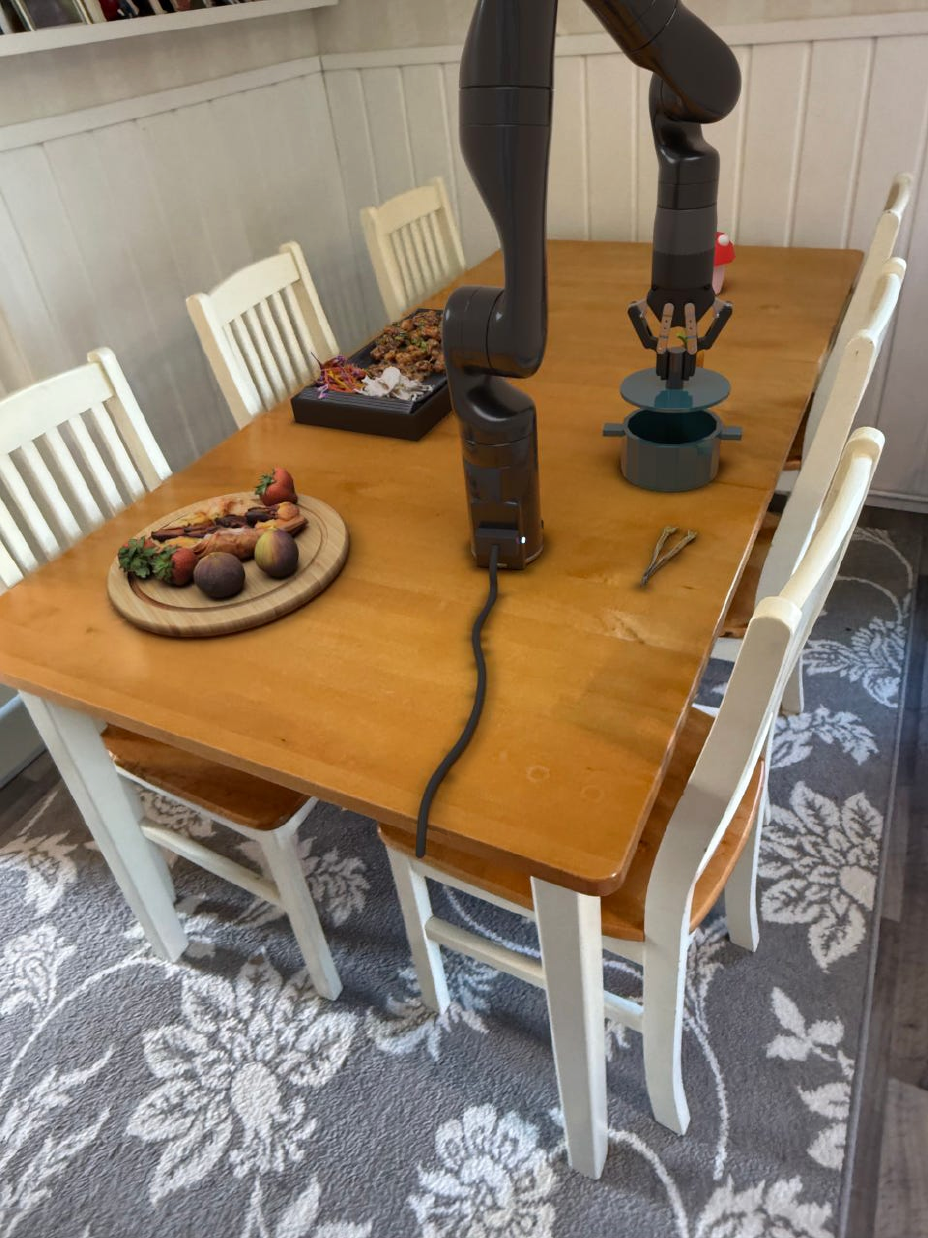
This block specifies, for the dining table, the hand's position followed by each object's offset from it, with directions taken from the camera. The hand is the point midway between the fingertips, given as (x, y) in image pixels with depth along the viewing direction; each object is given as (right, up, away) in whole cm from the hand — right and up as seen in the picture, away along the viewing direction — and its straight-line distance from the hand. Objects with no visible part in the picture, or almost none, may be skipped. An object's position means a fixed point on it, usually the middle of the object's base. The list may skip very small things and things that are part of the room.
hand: (675, 377), depth 115 cm
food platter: (-37, +12, +43) cm, 58 cm away
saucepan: (+1, -11, +9) cm, 14 cm away
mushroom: (+23, +37, +66) cm, 79 cm away
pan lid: (0, -1, +1) cm, 2 cm away
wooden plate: (-59, -25, 0) cm, 65 cm away
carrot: (+7, 0, +21) cm, 22 cm away
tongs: (-3, -25, -9) cm, 27 cm away
